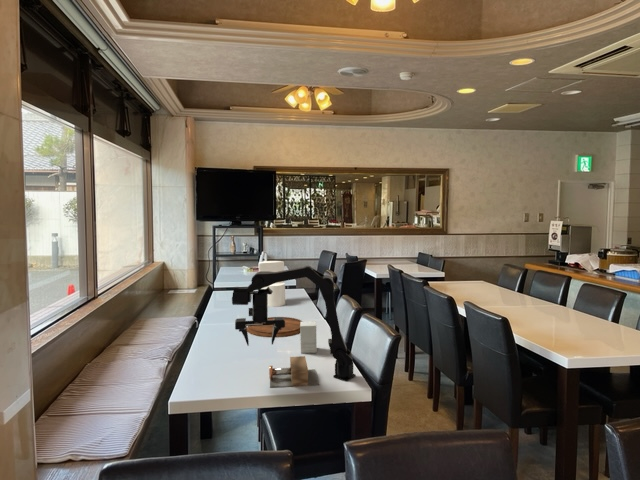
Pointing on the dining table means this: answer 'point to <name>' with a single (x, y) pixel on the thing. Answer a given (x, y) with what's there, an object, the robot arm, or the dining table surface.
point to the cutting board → (290, 329)
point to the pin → (278, 371)
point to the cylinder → (278, 288)
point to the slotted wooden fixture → (296, 375)
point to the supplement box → (308, 337)
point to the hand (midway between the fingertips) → (260, 344)
